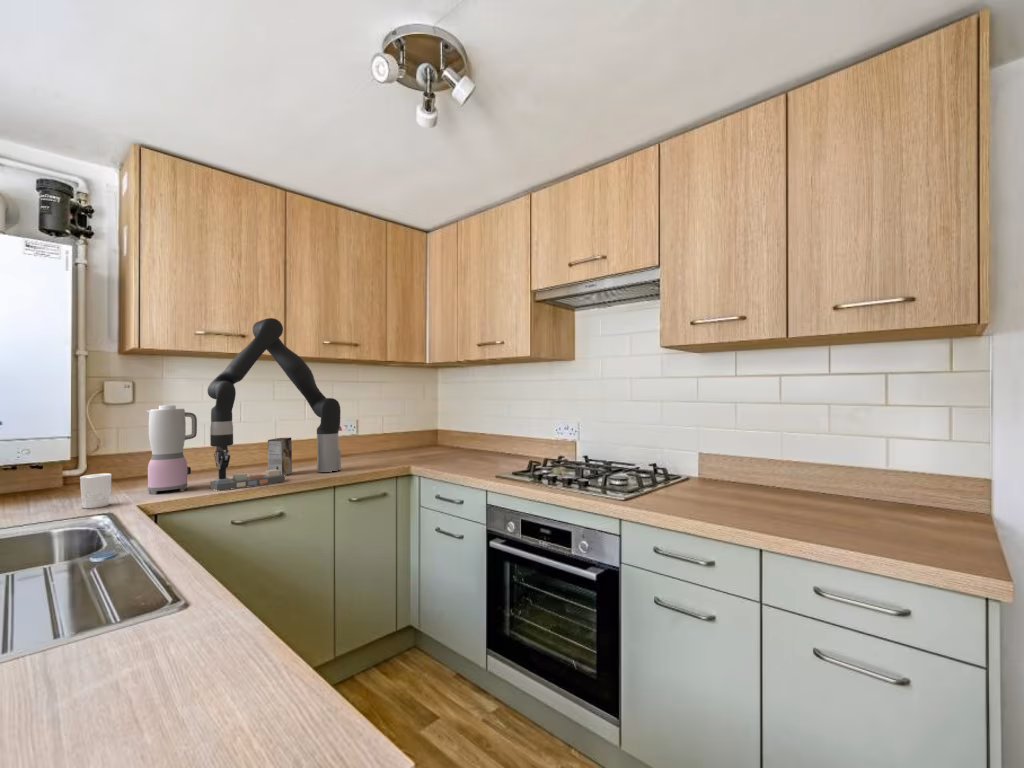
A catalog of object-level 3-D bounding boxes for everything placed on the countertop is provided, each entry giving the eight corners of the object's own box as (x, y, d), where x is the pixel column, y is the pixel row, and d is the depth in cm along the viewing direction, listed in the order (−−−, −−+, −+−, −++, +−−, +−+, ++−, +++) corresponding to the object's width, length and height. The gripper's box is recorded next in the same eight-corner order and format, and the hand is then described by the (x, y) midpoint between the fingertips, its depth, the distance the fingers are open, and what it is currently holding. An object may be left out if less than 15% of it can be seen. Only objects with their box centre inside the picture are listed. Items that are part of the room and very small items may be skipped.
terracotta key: (260, 480, 198) (260, 473, 198) (263, 482, 196) (263, 474, 196) (249, 482, 196) (249, 474, 196) (252, 483, 193) (252, 475, 193)
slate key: (227, 485, 190) (227, 477, 190) (230, 486, 187) (229, 478, 187) (215, 486, 187) (215, 478, 187) (218, 488, 184) (218, 480, 184)
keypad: (276, 479, 205) (275, 473, 205) (284, 481, 198) (284, 475, 198) (210, 487, 189) (210, 481, 189) (217, 491, 181) (217, 484, 181)
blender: (149, 495, 175) (148, 406, 176) (144, 491, 184) (144, 406, 185) (201, 489, 186) (200, 404, 186) (194, 485, 195) (193, 404, 195)
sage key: (244, 480, 194) (244, 473, 194) (247, 481, 191) (247, 474, 191) (232, 482, 191) (232, 474, 192) (235, 483, 189) (235, 475, 189)
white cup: (79, 506, 160) (79, 475, 161) (110, 502, 166) (110, 472, 166) (81, 510, 155) (80, 478, 155) (113, 505, 160) (112, 475, 160)
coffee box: (278, 473, 220) (277, 437, 221) (292, 473, 220) (292, 437, 221) (267, 477, 211) (267, 439, 211) (282, 476, 211) (282, 439, 211)
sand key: (276, 476, 203) (275, 469, 203) (279, 477, 200) (279, 470, 200) (265, 477, 200) (265, 470, 200) (269, 478, 197) (268, 471, 197)
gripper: (237, 433, 185) (238, 479, 185) (228, 431, 195) (228, 475, 195) (215, 434, 180) (215, 482, 180) (206, 433, 190) (206, 478, 189)
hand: (222, 478), depth 187 cm, fingers closed
